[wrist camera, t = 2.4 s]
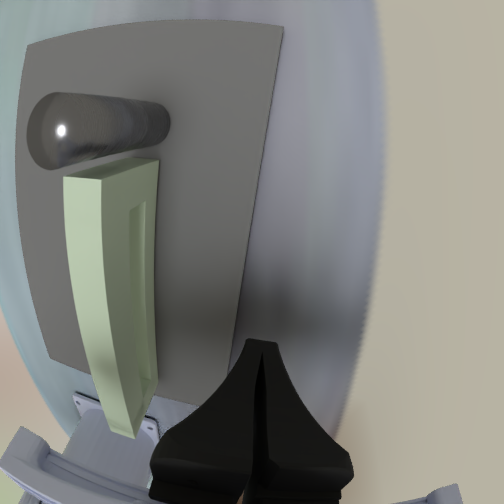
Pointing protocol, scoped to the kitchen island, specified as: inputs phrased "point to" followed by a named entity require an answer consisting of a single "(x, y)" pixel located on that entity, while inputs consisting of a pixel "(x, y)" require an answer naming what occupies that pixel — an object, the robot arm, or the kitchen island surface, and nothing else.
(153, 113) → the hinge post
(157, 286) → the mat
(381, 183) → the kitchen island surface
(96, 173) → the pale green slotted bar
